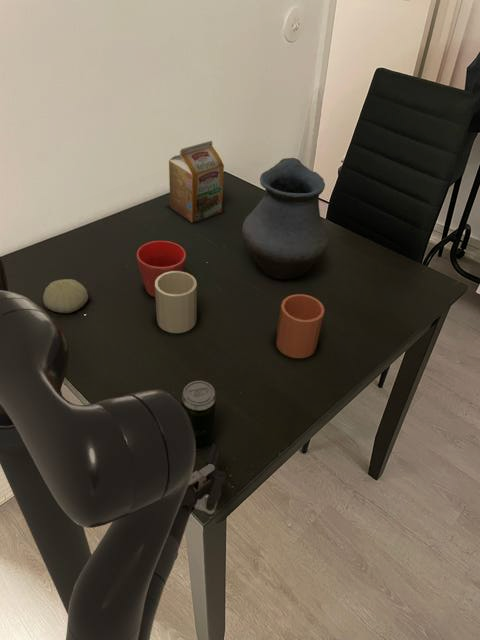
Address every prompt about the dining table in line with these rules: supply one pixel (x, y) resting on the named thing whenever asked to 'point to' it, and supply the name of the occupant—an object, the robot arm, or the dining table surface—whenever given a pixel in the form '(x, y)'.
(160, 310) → the cream cup
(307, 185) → the dark grey vase
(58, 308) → the sea urchin shell
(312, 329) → the terracotta cup
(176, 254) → the flower pot
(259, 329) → the dining table surface
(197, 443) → the beer can
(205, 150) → the milk carton
